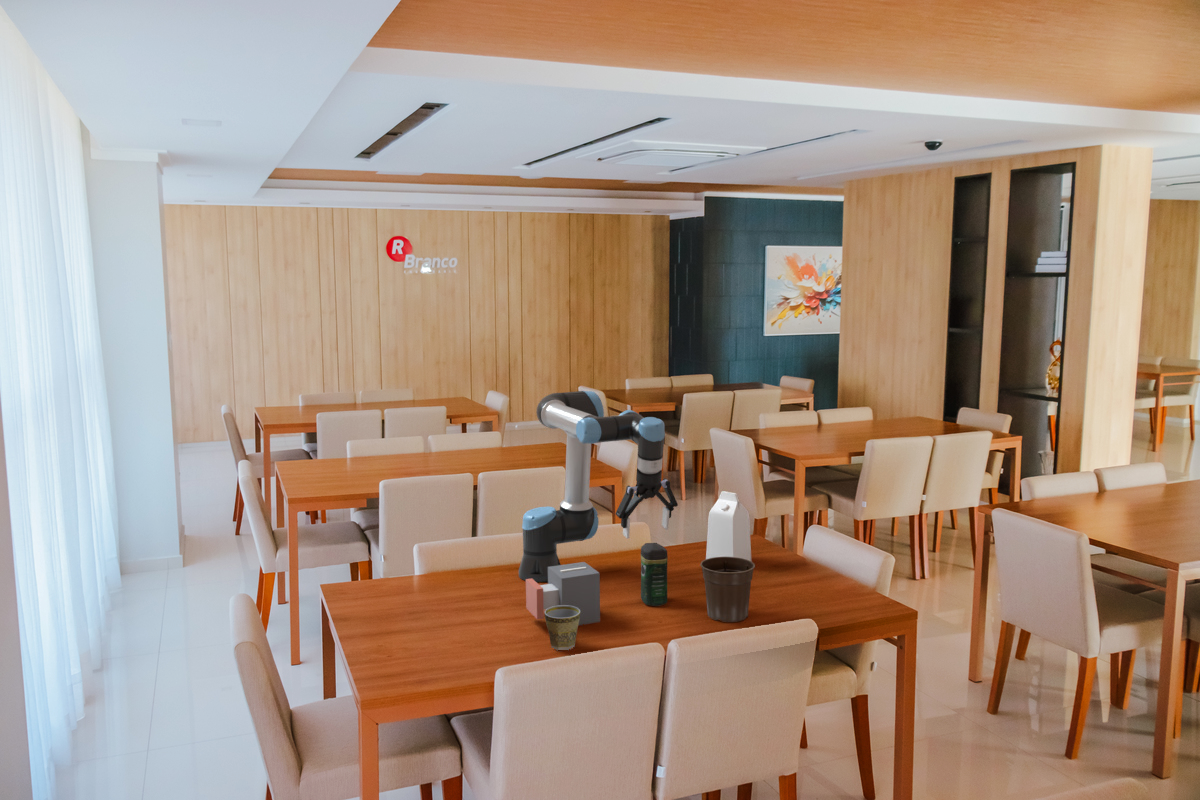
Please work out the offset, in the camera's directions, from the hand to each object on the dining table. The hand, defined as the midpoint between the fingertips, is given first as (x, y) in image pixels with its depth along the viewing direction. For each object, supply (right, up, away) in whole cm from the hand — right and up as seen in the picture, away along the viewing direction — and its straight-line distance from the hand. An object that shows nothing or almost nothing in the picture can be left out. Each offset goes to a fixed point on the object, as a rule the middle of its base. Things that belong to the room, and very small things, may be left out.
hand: (645, 531), depth 259 cm
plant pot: (+25, -25, -2) cm, 35 cm away
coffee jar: (+3, -24, +10) cm, 26 cm away
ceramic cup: (-24, -28, -22) cm, 43 cm away
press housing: (-22, -26, -3) cm, 34 cm away
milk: (+33, -19, +50) cm, 63 cm away
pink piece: (-28, -22, -6) cm, 36 cm away
